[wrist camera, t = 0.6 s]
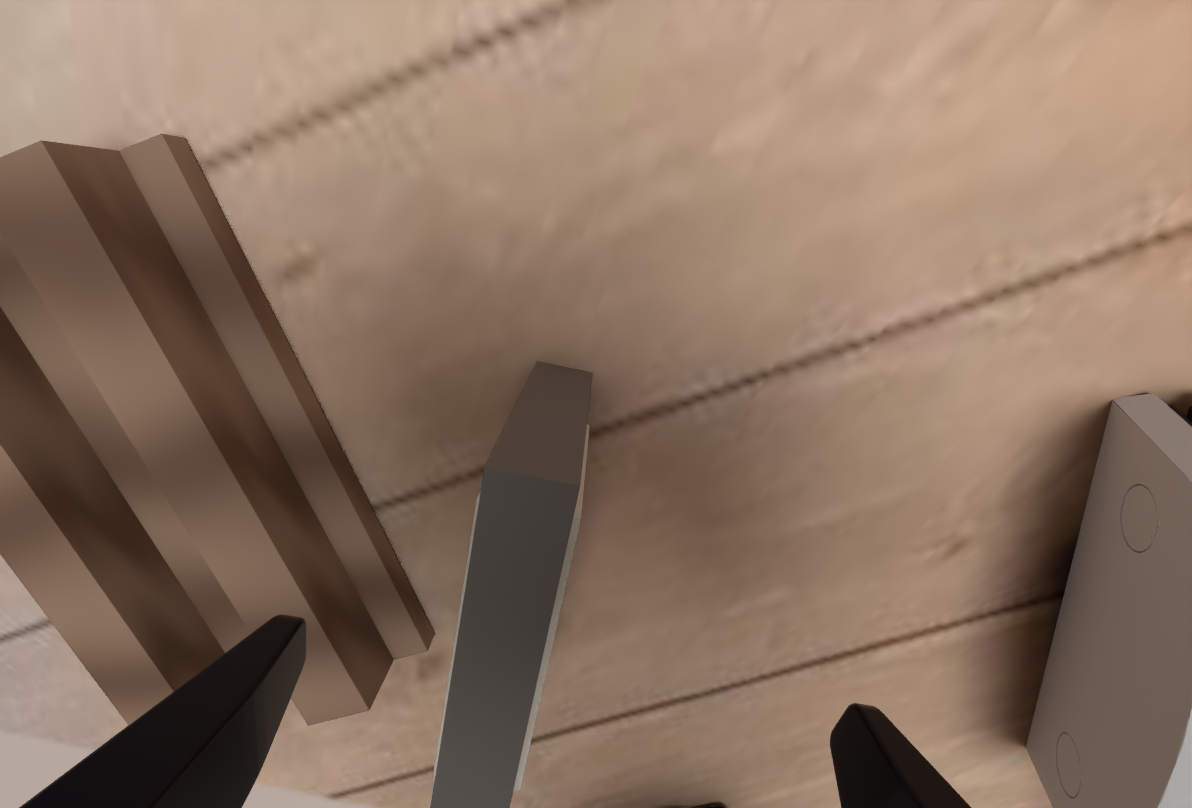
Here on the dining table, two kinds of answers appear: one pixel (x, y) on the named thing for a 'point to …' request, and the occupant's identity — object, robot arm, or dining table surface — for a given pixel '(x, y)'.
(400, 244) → the dining table surface
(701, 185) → the dining table surface
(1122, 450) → the grey two-tone curved device
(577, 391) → the picture frame
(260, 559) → the walnut ledge
